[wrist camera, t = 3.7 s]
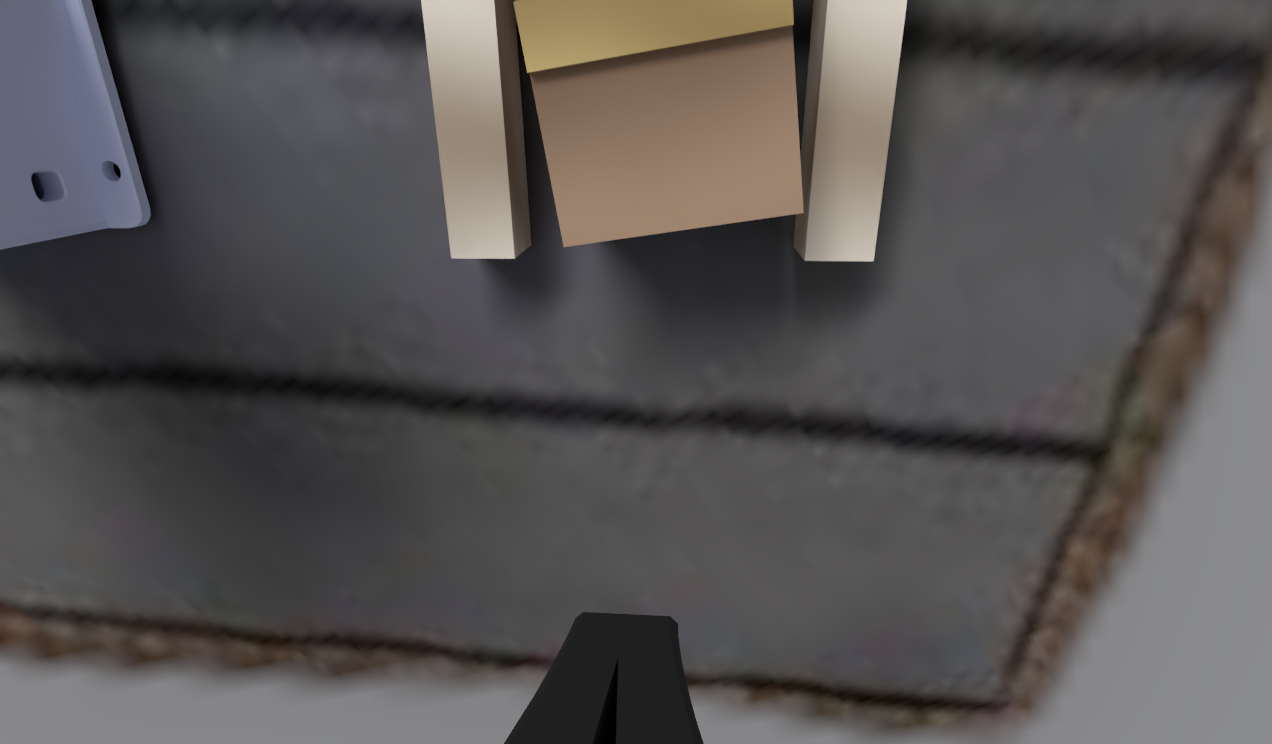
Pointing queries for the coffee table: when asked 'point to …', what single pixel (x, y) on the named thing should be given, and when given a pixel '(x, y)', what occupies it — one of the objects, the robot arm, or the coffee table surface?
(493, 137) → the beam slot
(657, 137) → the rider block
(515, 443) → the coffee table surface
